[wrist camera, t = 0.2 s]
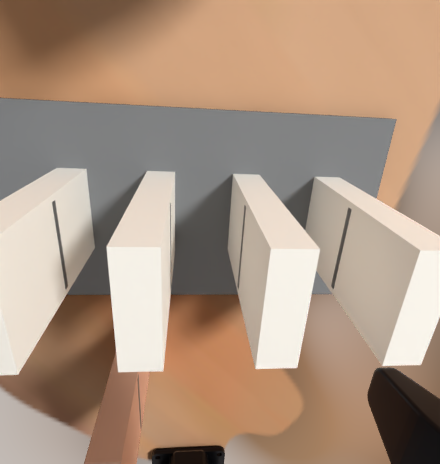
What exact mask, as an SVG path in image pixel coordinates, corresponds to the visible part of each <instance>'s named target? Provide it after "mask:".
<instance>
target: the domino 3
mask: <svg viewBox="0 0 440 464" xmlns="http://www.w3.org/2000/svg"><path fill="white" fill-rule="evenodd" d="M149 373H150V372H118V366H117V355H116V353H115V357H114V360H113V364H112V367H111V371H110V374H109V378H108V381H107V385H106V388H105V392H104V395H103V399H102V402H101V406H100V409H99V413H98V416H97V420H96V423H95V427H94V430H93V434H92V437H91V441H90V444H89V448H88V451H87V455H86V459H85V462H84V464H136V462H137V456H138V449H139V442H140V435H141V429H142V422H143V415H144V408H145V401H146V394H147V387H148V380H149Z"/></svg>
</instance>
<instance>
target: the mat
mask: <svg viewBox="0 0 440 464" xmlns="http://www.w3.org/2000/svg"><path fill="white" fill-rule="evenodd" d="M395 123H396V119H388V118H370V117H351V116H332V115H313V114H294V113H276V112H257V111H238V110H219V109H200V108H182V107H163V106H144V105H125V104H106V103H88V102H69V101H50V100H31V99H12V98H0V201H1V200H2V199H4V198H6V197H7V196H9V195H11V194H13V193H14V192H16V191H18V190H20V189H21V188H23V187H25V186H26V185H28V184H30V183H32V182H33V181H35V180H37V179H38V178H40V177H42V176H44V175H45V174H47V173H49V172H51V171H52V170H54V169H56V168H78V169H86V170H87V180H88V189H89V198H90V207H91V216H92V225H93V235H94V244H95V249H94V250H93V252H92V253H91V255H90V257H89V258H88V260H87V262H86V263H85V265H84V267H83V268H82V270H81V272H80V273H79V275H78V277H77V278H76V280H75V282H74V283H73V285H72V286H71V288H70V290H69V291H68V293H67V295H111V291H110V280H109V269H108V259H107V248H106V247H107V245H108V243H109V241H110V239H111V237H112V235H113V234H114V232H115V230H116V228H117V226H118V224H119V222H120V221H121V219H122V217H123V215H124V213H125V211H126V209H127V208H128V206H129V204H130V202H131V200H132V198H133V196H134V194H135V193H136V191H137V189H138V187H139V185H140V183H141V181H142V180H143V178H144V176H145V174H146V172H147V171H166V172H175V255H174V266H173V276H172V286H171V295H186V294H238V292H237V287H236V283H235V279H234V275H233V270H232V266H231V262H230V257H229V253H228V237H229V222H230V208H231V194H232V180H233V174H254V175H260V176H261V177H262V178H263V180H264V181H265V182H266V183H267V185H268V186H269V187H270V188H271V189H272V191H273V192H274V193H275V194H276V196H277V197H278V198H279V199H280V201H281V202H282V203H283V204H284V205H285V207H286V208H287V209H288V210H289V212H290V213H291V214H292V215H293V216H294V218H295V219H296V220H297V221H298V223H299V224H300V225H301V226H302V227H303V229H304V230H305V229H306V223H307V217H308V211H309V205H310V200H311V194H312V188H313V182H314V177H340V178H342V179H343V180H345V181H347V182H348V183H350V184H352V185H353V186H355V187H357V188H359V189H360V190H362V191H364V192H365V193H367V194H369V195H371V196H372V197H374V198H377V194H378V190H379V186H380V182H381V178H382V174H383V170H384V167H385V163H386V159H387V155H388V151H389V147H390V143H391V139H392V135H393V131H394V127H395ZM312 294H332V293H331V291H330V290H329V288H328V287H327V286H326V284H325V283H324V281H323V280H322V278H321V277H320V276H319V274H318V273H317V271H316V274H315V279H314V284H313V289H312Z"/></svg>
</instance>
